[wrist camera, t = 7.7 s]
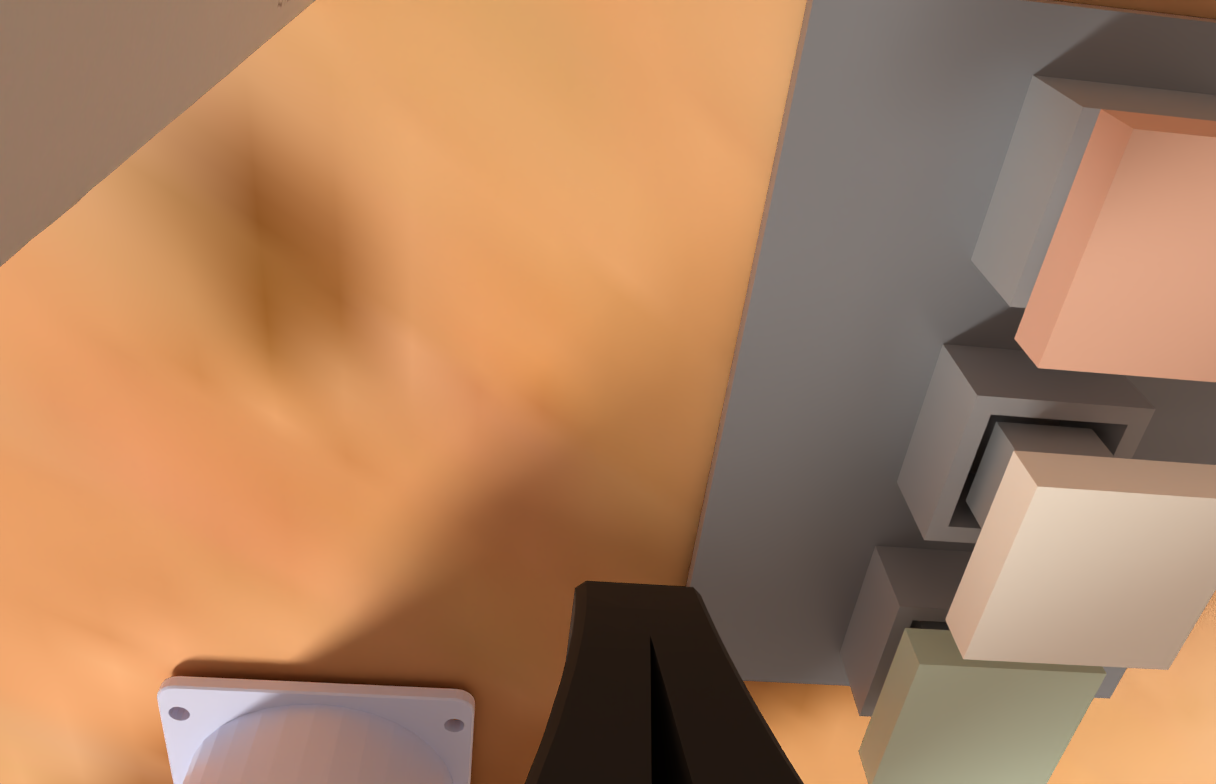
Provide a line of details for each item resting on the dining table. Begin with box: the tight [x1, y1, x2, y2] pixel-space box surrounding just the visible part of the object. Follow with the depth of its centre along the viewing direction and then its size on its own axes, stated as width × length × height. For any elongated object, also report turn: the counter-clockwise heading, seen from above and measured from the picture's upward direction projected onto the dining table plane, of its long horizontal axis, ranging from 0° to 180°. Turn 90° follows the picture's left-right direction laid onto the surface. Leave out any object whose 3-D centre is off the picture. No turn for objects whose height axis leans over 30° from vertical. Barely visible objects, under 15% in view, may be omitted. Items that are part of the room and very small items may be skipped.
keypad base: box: [686, 0, 1216, 717], centre depth 21 cm, size 17×12×2 cm
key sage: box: [859, 620, 1107, 784], centre depth 22 cm, size 4×4×4 cm
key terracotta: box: [1014, 109, 1216, 382], centre depth 17 cm, size 4×4×4 cm
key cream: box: [945, 422, 1216, 670], centre depth 19 cm, size 4×4×4 cm
